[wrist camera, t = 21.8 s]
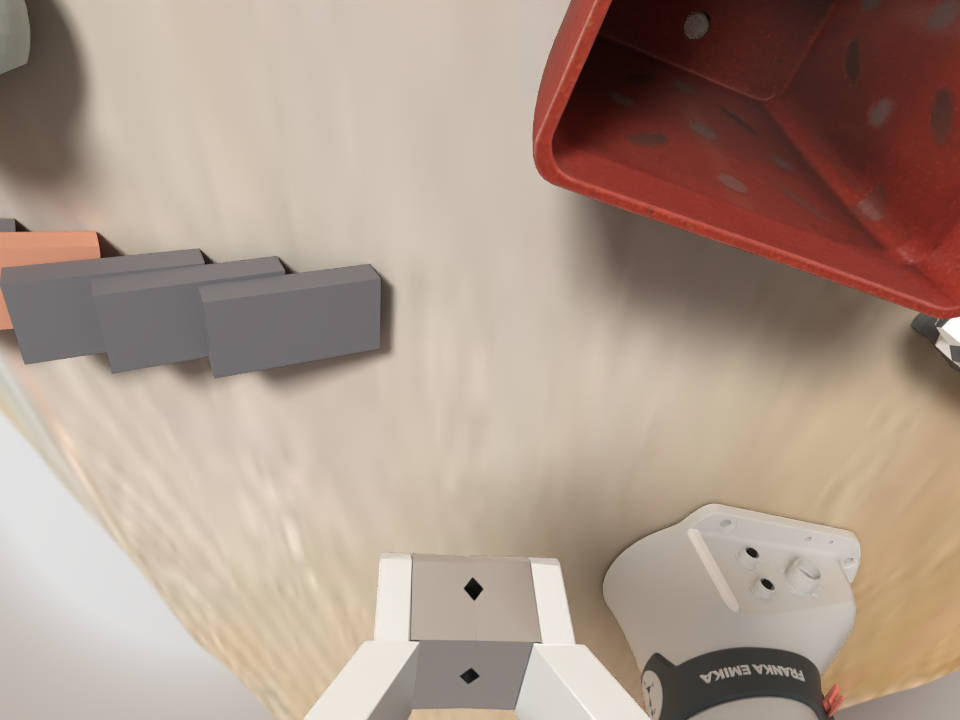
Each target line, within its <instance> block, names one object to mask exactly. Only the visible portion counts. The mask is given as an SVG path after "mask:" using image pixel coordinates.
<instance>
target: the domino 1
mask: <svg viewBox="0 0 960 720" xmlns="http://www.w3.org/2000/svg"><path fill="white" fill-rule="evenodd" d="M97 258H100V248H99V243H98V238H97V234H96V231H61V232H0V277H1V268H5V267H15V266H25V265H35V264H46V263H56V262H66V261H77V260H87V259H97ZM3 329H14V328H13V325H12V322H11V319H10V316H9V313H8V309H7V306H6V303H5V300H4V297H3V294H2V290H1V287H0V330H3Z"/></svg>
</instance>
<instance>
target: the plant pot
mask: <svg viewBox="0 0 960 720" xmlns="http://www.w3.org/2000/svg"><path fill="white" fill-rule="evenodd" d="M696 10H701V11H704V12H706V13H707V14H708V15H709V18H710V26H709V29H708V31H707V32H706V34H705V35H704V36H702V37H701V38H699V39H689V38H688V37H687V36H686V35H685V33H684V22H685V21H686V19H687V17H688V15H689V14H691V13H692V12H694V11H696ZM533 157H534V161H535V165H536V168H537V170H538V172H539V174H540V175H541V176H542V177H543V179H545V180H546V181H548V182H550V183H551V184H553V185H556V186H559V187H562V188H564V189H567V190H570V191H573V192H575V193H578V194H581V195H584V196H587V197H589V198H592V199H595V200H598V201H600V202H603V203H606V204H609V205H612V206H614V207H617V208H620V209H623V210H626V211H628V212H631V213H634V214H637V215H640V216H643V217H646V218H649V219H652V220H655V221H658V222H661V223H664V224H667V225H670V226H673V227H676V228H679V229H682V230H685V231H688V232H691V233H694V234H697V235H700V236H703V237H705V238H708V239H711V240H714V241H717V242H720V243H723V244H726V245H729V246H732V247H735V248H737V249H740V250H743V251H746V252H749V253H752V254H755V255H757V256H760V257H763V258H767V259H770V260H773V261H776V262H779V263H782V264H785V265H787V266H790V267H793V268H796V269H798V270H801V271H804V272H807V273H810V274H812V275H815V276H818V277H821V278H824V279H827V280H830V281H832V282H835V283H838V284H841V285H844V286H847V287H850V288H853V289H855V290H858V291H861V292H864V293H867V294H869V295H872V296H875V297H878V298H881V299H884V300H886V301H889V302H892V303H895V304H898V305H901V306H903V307H906V308H909V309H912V310H915V311H918V312H920V313H923V314H926V315H929V316H931V317H934V318H937V319H943V320H944V319H951V318H958V317H960V0H571V2H570V5H569V7H568V10H567V12H566V14H565V17H564V19H563V22H562V24H561V26H560V29H559V31H558V34H557V36H556V38H555V41H554V43H553V46H552V49H551V51H550V54H549V57H548V60H547V63H546V66H545V69H544V73H543V76H542V80H541V84H540V88H539V91H538V97H537V102H536V108H535V114H534V122H533Z"/></svg>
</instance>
